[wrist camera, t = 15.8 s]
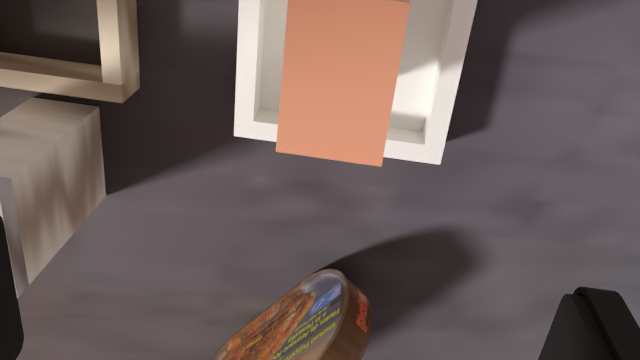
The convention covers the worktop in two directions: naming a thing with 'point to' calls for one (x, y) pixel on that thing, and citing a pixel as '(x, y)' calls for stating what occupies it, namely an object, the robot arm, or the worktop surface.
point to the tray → (411, 87)
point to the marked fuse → (340, 77)
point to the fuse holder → (60, 141)
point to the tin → (307, 324)
